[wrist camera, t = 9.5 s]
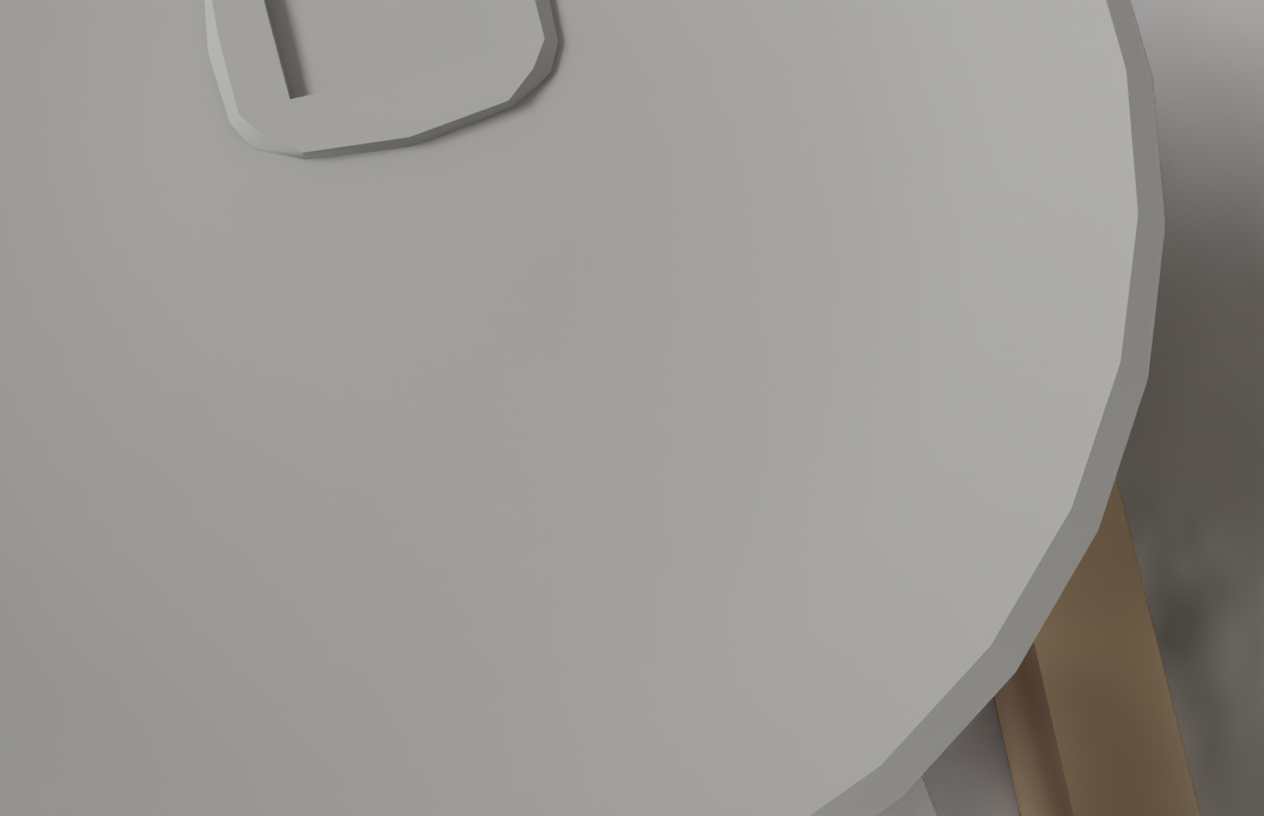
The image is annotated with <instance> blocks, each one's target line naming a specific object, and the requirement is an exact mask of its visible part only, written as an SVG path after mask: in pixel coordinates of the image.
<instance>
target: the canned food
mask: <svg viewBox="0 0 1264 816" xmlns="http://www.w3.org/2000/svg"><path fill="white" fill-rule="evenodd" d="M1165 227H1166V225H1165V213H1164V202H1163V190H1162V179H1161V167H1160V156H1159V144H1158V133H1157V121H1156V110H1155V98H1154V87H1153V77H1152V73H1151V70H1150V66H1149V63H1148V59H1147V56H1146V52H1145V49H1144V46H1143V42H1142V39H1141V35H1140V32H1139V28H1138V25H1137V21H1136V18H1135V15H1134V11H1133V8H1132V4H1131V1H1130V0H0V816H877V815H878V814H879V813H881V812H882V811H884V810H885V809H886V808H888V807H889V806H891V805H892V804H893V803H895V802H896V801H898V800H899V799H900V798H902V797H903V796H904V795H905V794H906V792H907V791H908V790H909V789H910V788H911V787H912V786H913V785H914V784H915V783H916V781H917V780H918V779H919V778H920V777H921V776H922V775H923V774H924V773H925V772H926V770H927V769H928V768H929V767H930V766H931V765H932V764H933V763H934V762H935V761H936V759H937V758H938V757H939V756H940V755H941V754H942V753H943V752H944V751H945V750H946V748H947V747H948V746H949V745H950V744H951V743H952V742H953V741H954V740H955V739H956V737H957V736H958V735H959V734H960V733H961V732H962V731H963V730H964V729H965V728H966V726H967V725H968V724H969V723H970V722H971V721H972V720H973V719H974V718H975V717H976V715H977V714H978V713H979V712H980V711H981V710H982V709H983V708H984V707H985V705H986V704H987V703H988V702H989V701H990V700H991V699H992V698H993V697H994V696H995V694H996V693H997V692H998V691H999V690H1000V689H1001V688H1002V687H1003V686H1004V685H1005V683H1006V682H1007V681H1008V680H1009V679H1010V678H1011V677H1012V676H1013V675H1014V674H1015V672H1016V671H1017V669H1018V667H1019V666H1020V664H1021V662H1022V661H1023V659H1024V657H1025V655H1026V654H1027V652H1028V650H1029V649H1030V647H1031V645H1032V643H1033V642H1034V640H1035V638H1036V636H1037V635H1038V633H1039V631H1040V630H1041V628H1042V626H1043V624H1044V623H1045V621H1046V619H1047V618H1048V616H1049V614H1050V612H1051V611H1052V609H1053V607H1054V606H1055V604H1056V602H1057V600H1058V599H1059V597H1060V595H1061V593H1062V592H1063V590H1064V588H1065V587H1066V585H1067V583H1068V581H1069V580H1070V578H1071V576H1072V575H1073V573H1074V571H1075V569H1076V568H1077V566H1078V564H1079V563H1080V561H1081V559H1082V557H1083V556H1084V554H1085V552H1086V550H1087V549H1088V547H1089V545H1090V544H1091V542H1092V540H1093V538H1094V537H1095V535H1096V533H1097V532H1098V530H1099V526H1100V523H1101V520H1102V517H1103V514H1104V511H1105V508H1106V505H1107V502H1108V499H1109V496H1110V493H1111V490H1112V487H1113V484H1114V481H1115V478H1116V475H1117V472H1118V469H1119V466H1120V463H1121V460H1122V457H1123V454H1124V451H1125V448H1126V445H1127V442H1128V439H1129V435H1130V432H1131V429H1132V426H1133V423H1134V420H1135V417H1136V414H1137V411H1138V408H1139V405H1140V402H1141V399H1142V396H1143V393H1144V390H1145V387H1146V384H1147V381H1148V376H1149V367H1150V358H1151V349H1152V341H1153V332H1154V323H1155V314H1156V306H1157V297H1158V288H1159V279H1160V271H1161V262H1162V253H1163V244H1164V236H1165Z"/></svg>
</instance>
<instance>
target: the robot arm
mask: <svg viewBox="0 0 1264 816" xmlns="http://www.w3.org/2000/svg"><path fill="white" fill-rule="evenodd" d="M877 816H938V813H937V811H936V809H935V806H934V804H933V801H932V799H931V797H930V794H929V792H928V790H927V787H926V785H925V782H924V780H923V778H922V776H921V777H920V778H919V779H918V780H917V781H916V783H915V784H914V785H913V786H912V787H911V788H910V789H909V790H908V791H907V792H906V794H905V795H904V796H903V797H902V798H900V799H899V800H898V801H896V802H895V803H893V804H892V805H891V806H889V807H888V808H886V809H885V810H884V811H882V812H881V813H879V814H878V815H877Z"/></svg>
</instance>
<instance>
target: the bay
mask: <svg viewBox="0 0 1264 816" xmlns="http://www.w3.org/2000/svg"><path fill="white" fill-rule="evenodd" d="M994 698H995V703H996V707H997V712H998V716H999V721H1000V725H1001V730H1002V734H1003V739H1004V743H1005V748H1006V752H1007V757H1008V761H1009V766H1010V770H1011V775H1012V780H1013V784H1014V789H1015V793H1016V798H1017V802H1018V807H1019V811H1020V816H1200V812H1199V808H1198V804H1197V800H1196V796H1195V792H1194V788H1193V784H1192V780H1191V776H1190V772H1189V768H1188V764H1187V760H1186V756H1185V752H1184V748H1183V744H1182V740H1181V736H1180V732H1179V728H1178V724H1177V720H1176V716H1175V712H1174V708H1173V704H1172V700H1171V695H1170V691H1169V687H1168V683H1167V679H1166V675H1165V671H1164V667H1163V663H1162V659H1161V655H1160V651H1159V647H1158V643H1157V639H1156V635H1155V631H1154V627H1153V623H1152V619H1151V615H1150V611H1149V607H1148V603H1147V599H1146V595H1145V591H1144V587H1143V583H1142V579H1141V575H1140V571H1139V567H1138V563H1137V559H1136V555H1135V551H1134V547H1133V543H1132V539H1131V535H1130V531H1129V527H1128V523H1127V519H1126V515H1125V511H1124V507H1123V503H1122V499H1121V495H1120V491H1119V487H1118V483H1117V479H1116V478H1115V481H1114V484H1113V487H1112V490H1111V493H1110V496H1109V499H1108V502H1107V505H1106V508H1105V511H1104V514H1103V517H1102V520H1101V523H1100V526H1099V530H1098V532H1097V533H1096V535H1095V537H1094V538H1093V540H1092V542H1091V544H1090V545H1089V547H1088V549H1087V550H1086V552H1085V554H1084V556H1083V557H1082V559H1081V561H1080V563H1079V564H1078V566H1077V568H1076V569H1075V571H1074V573H1073V575H1072V576H1071V578H1070V580H1069V581H1068V583H1067V585H1066V587H1065V588H1064V590H1063V592H1062V593H1061V595H1060V597H1059V599H1058V600H1057V602H1056V604H1055V606H1054V607H1053V609H1052V611H1051V612H1050V614H1049V616H1048V618H1047V619H1046V621H1045V623H1044V624H1043V626H1042V628H1041V630H1040V631H1039V633H1038V635H1037V636H1036V638H1035V640H1034V642H1033V643H1032V645H1031V647H1030V649H1029V650H1028V652H1027V654H1026V655H1025V657H1024V659H1023V661H1022V662H1021V664H1020V666H1019V667H1018V669H1017V671H1016V672H1015V674H1014V675H1013V676H1012V677H1011V678H1010V679H1009V680H1008V681H1007V682H1006V683H1005V685H1004V686H1003V687H1002V688H1001V689H1000V690H999V691H998V692H997V693H996V694H995V696H994Z"/></svg>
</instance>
